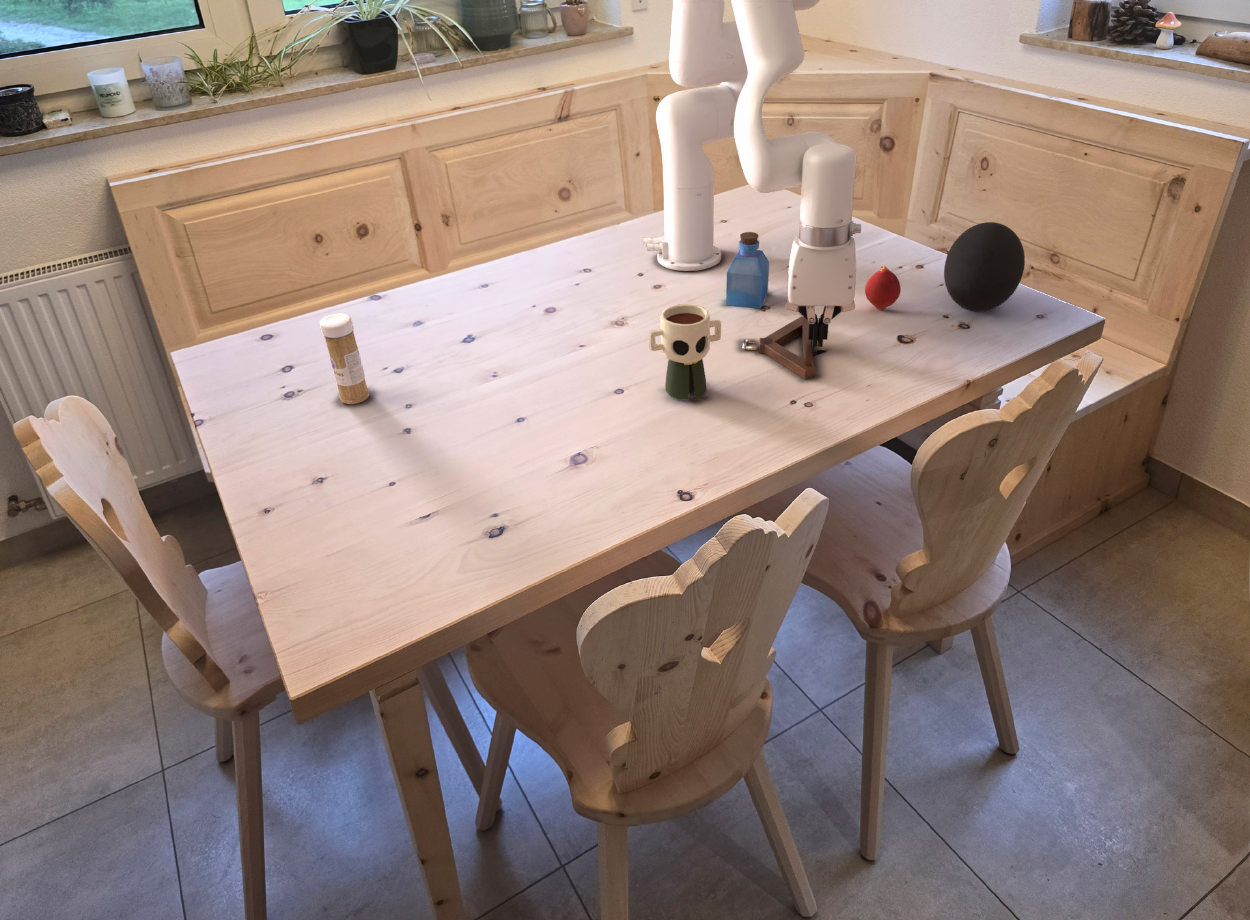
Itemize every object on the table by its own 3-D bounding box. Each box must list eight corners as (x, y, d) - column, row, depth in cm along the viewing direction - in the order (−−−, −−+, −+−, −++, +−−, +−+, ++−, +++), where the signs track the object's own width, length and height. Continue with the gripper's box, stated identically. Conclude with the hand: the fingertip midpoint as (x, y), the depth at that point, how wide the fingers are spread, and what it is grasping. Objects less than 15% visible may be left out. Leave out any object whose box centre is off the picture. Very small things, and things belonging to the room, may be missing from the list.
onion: (894, 302, 156) (900, 259, 152) (899, 316, 152) (906, 272, 147) (861, 302, 157) (865, 259, 152) (865, 316, 152) (870, 272, 148)
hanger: (741, 378, 137) (741, 369, 136) (743, 323, 152) (743, 315, 151) (815, 379, 136) (816, 370, 135) (810, 324, 151) (810, 316, 150)
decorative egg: (969, 287, 160) (984, 205, 151) (1029, 310, 151) (1049, 225, 143) (922, 306, 154) (935, 222, 146) (982, 331, 146) (1000, 244, 137)
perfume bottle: (767, 294, 162) (770, 230, 155) (760, 308, 157) (763, 243, 150) (734, 290, 163) (735, 227, 157) (726, 305, 159) (727, 240, 152)
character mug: (657, 410, 131) (654, 330, 124) (645, 386, 137) (641, 309, 129) (728, 397, 133) (729, 318, 125) (712, 375, 139) (713, 298, 131)
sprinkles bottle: (334, 399, 138) (312, 321, 130) (358, 387, 141) (338, 309, 133) (352, 408, 136) (331, 329, 128) (376, 396, 138) (357, 317, 131)
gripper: (874, 223, 134) (863, 333, 145) (774, 224, 137) (770, 332, 147) (878, 240, 128) (867, 354, 139) (773, 241, 131) (769, 353, 141)
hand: (817, 343), depth 143 cm, fingers closed
